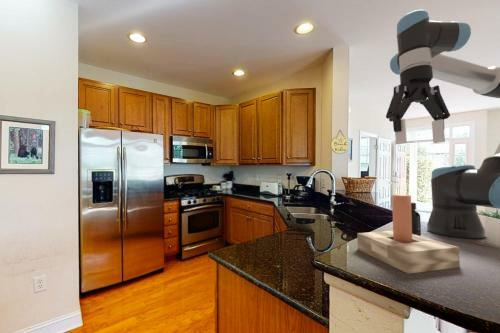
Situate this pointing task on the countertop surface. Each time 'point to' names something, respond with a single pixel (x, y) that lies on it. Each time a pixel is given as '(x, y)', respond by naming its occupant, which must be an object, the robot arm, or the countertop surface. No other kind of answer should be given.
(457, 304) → the countertop surface
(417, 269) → the bore block
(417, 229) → the supplement bottle
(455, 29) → the robot arm
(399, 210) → the terracotta dowel
